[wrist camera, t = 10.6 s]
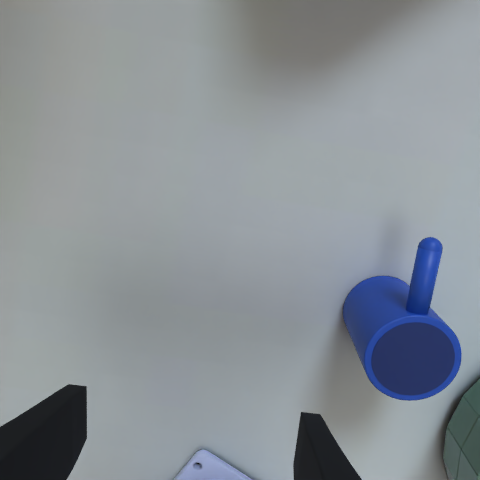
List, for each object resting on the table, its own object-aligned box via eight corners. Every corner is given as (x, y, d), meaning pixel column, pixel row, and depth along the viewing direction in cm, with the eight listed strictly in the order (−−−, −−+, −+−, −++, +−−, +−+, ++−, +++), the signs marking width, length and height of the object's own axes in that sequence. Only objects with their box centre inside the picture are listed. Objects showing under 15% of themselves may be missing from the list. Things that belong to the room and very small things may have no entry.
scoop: (410, 348, 22) (451, 406, 17) (337, 340, 22) (357, 395, 18) (438, 221, 21) (491, 246, 16) (358, 213, 21) (386, 236, 16)
